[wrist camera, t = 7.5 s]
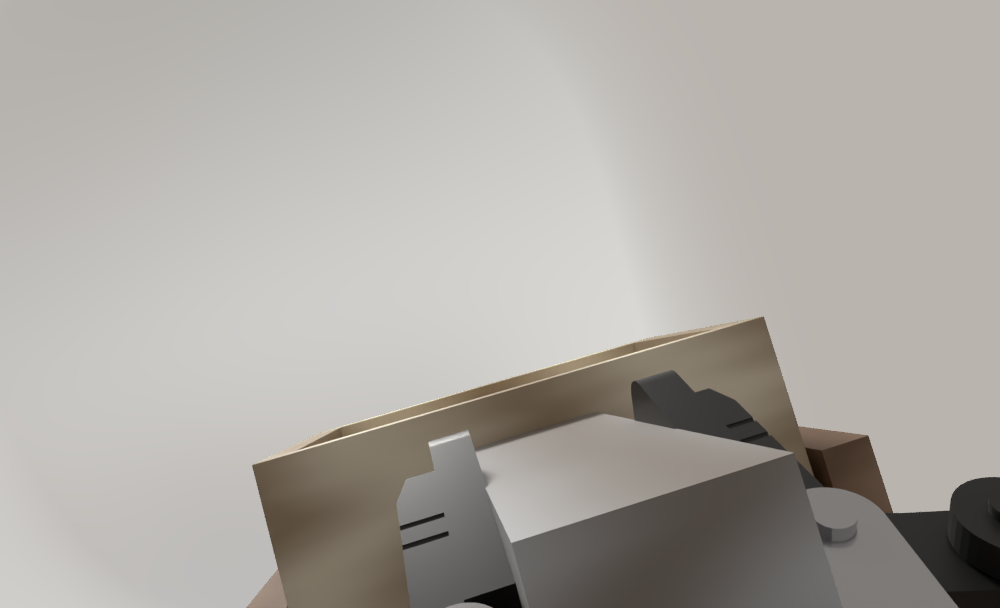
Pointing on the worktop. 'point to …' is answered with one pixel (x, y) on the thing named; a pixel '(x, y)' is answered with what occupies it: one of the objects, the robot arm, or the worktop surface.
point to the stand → (831, 461)
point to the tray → (395, 447)
